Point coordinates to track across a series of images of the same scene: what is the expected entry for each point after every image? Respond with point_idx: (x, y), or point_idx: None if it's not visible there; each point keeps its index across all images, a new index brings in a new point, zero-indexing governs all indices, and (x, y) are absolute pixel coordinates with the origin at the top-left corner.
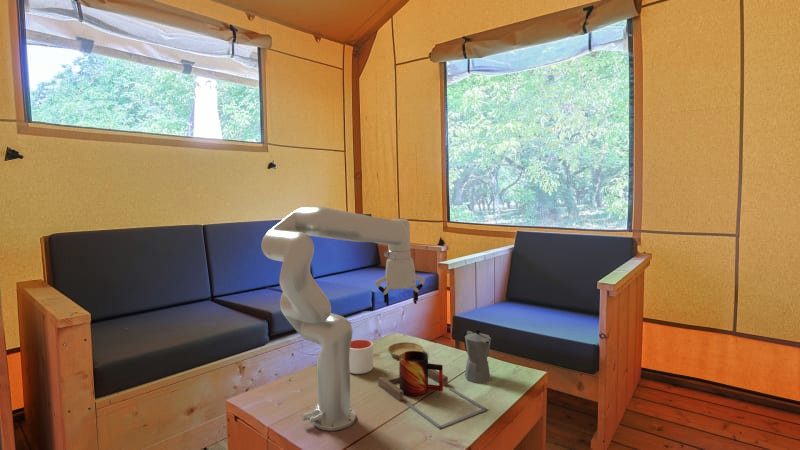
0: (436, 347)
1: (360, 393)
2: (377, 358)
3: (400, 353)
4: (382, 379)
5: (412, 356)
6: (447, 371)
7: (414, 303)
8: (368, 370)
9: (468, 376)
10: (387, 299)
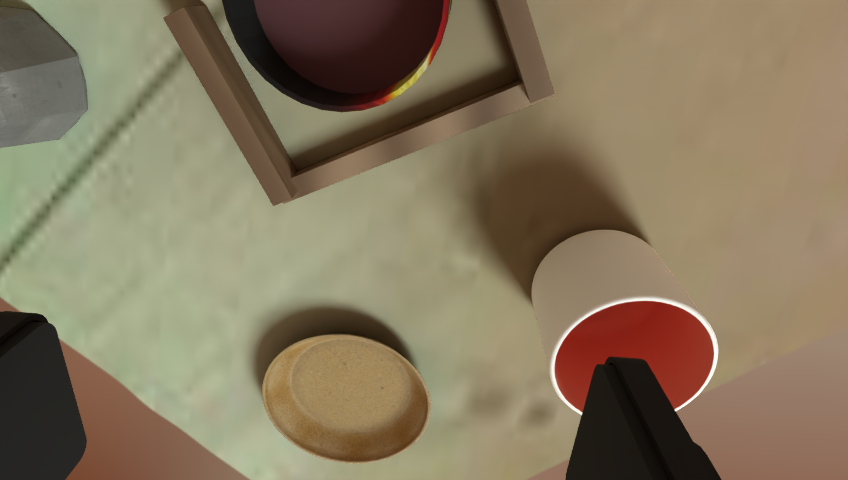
0: (204, 417)
1: (664, 18)
2: (485, 372)
3: (373, 394)
4: (540, 65)
5: (338, 97)
6: (174, 176)
7: (50, 324)
8: (567, 240)
9: (57, 52)
10: (679, 461)
